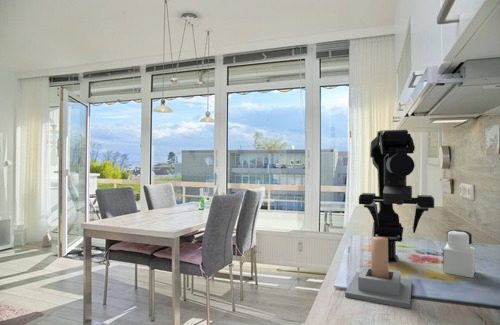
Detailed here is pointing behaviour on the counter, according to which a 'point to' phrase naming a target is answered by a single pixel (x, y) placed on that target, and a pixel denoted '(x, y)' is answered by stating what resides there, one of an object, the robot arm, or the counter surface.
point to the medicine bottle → (459, 254)
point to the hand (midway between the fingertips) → (395, 231)
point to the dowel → (379, 257)
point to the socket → (380, 288)
